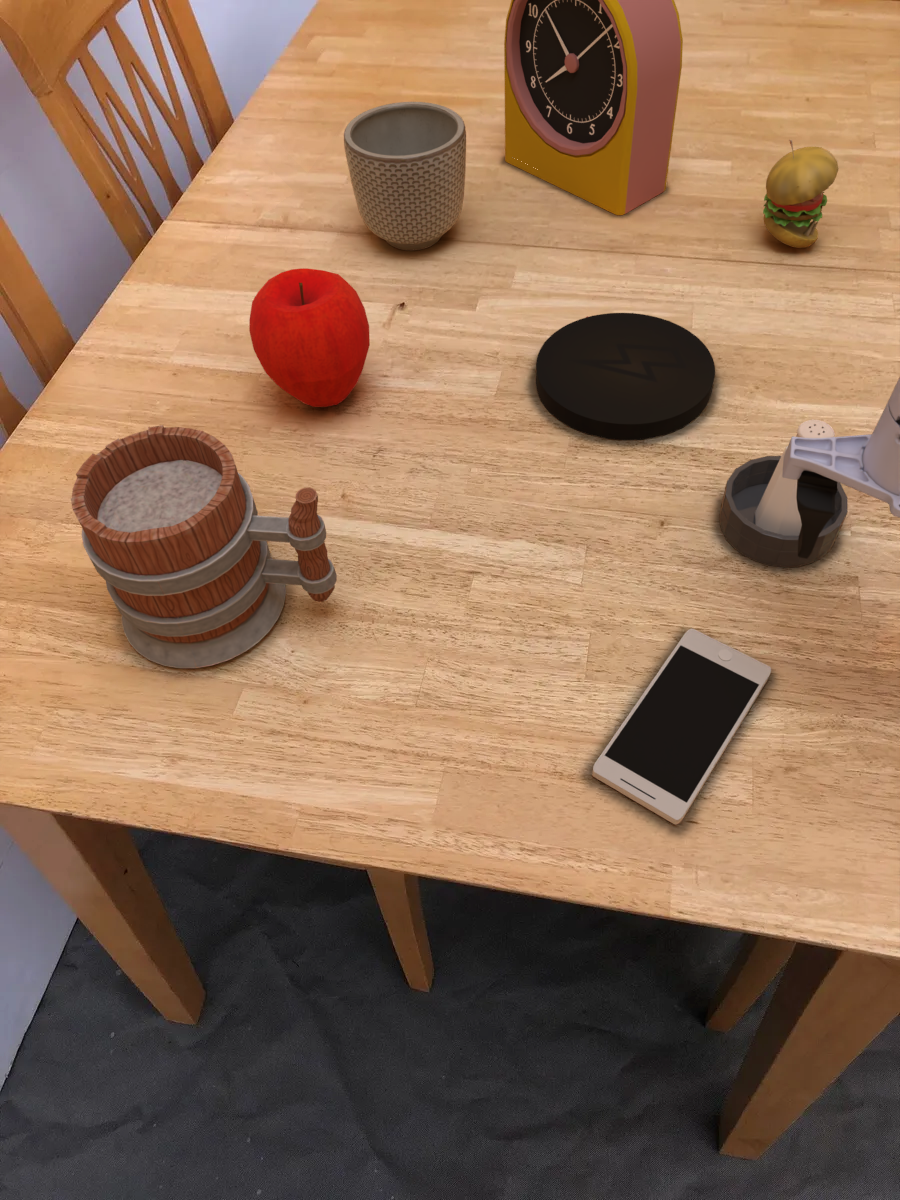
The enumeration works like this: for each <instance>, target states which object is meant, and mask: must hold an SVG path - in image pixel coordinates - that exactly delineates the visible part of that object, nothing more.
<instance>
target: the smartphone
mask: <svg viewBox="0 0 900 1200" xmlns="http://www.w3.org/2000/svg"><path fill="white" fill-rule="evenodd" d="M771 673H772V667H771V666H770V665H768V664H766V663H764V662H762V661H761V660H758V659H756V658H754V657H752V656H750V655H748V654H746V653H743V652H741V651H739V650H738V649H735V648H733V647H732V646H729V645H727V644H725V643H723V642H721V641H719V640H718V639H715V638H713V637H711V636H709V635H707V634H705V633H703V632H701V631H699V630H697V629H695V628H689V629H688V630H686V631H685V632H684V634H683V636H682V637H681V638H680V640H679V641H678V643H677V644H676V646H674V648H673V649H672V651H671V653H670V654H669V655H668V657H667V659H666V660H665V661H664V663H663V664H662V665H661V667H660V668H659V670H658V672H657V673H656V675H655V676H654V677H653V678H652V680H651V681H650V683H649V684H648V686H647V687H646V689H644V691H643V693H642V694H641V696H640V697H639V699H638V701H636V703H635V705H633V707H632V709H631V710H630V712H629V714H628V715H627V716H626V718H625V719H624V720H623V722H622V723H621V725H620V726H619V728H618V729H617V730H616V732H615V733H614V735H613V736H612V738H611V739H610V741H609V742H608V743H607V744H606V747H604V749H603V751H602V752H601V754H600V755H599V756H598V758H597V760H596V761H595V762H594V764H593V766H592V771H591V775H592V777H593V778H595V779H596V780H599V781H600V782H601V783H603V784H605V785H607V786H608V787H610V788H612V789H613V790H615V791H617V792H619V793H620V794H622V795H624V796H626V798H629V799H631V800H633V801H634V802H635V803H637V804H639V805H640V806H642V807H644V808H646V809H647V810H649V811H651V812H652V813H655V814H656V815H657V816H659V817H661V818H662V819H664V820H666V821H668V822H670V823H671V824H673V825H679V824H680V823H682V821H683V819H684V818H685V817H686V815H687V813H688V811H689V810H690V808H691V807H692V805H693V803H694V802H695V800H696V799H697V797H698V795H699V793H700V792H701V790H702V788H703V787H704V785H705V783H706V782H707V780H708V779H709V777H710V776H711V774H712V773H713V770H714V769H715V767H716V765H717V764H718V762H719V761H720V759H721V758H722V756H723V754H724V752H725V751H726V749H727V747H728V746H729V744H730V743H731V741H732V739H733V738H734V736H735V735H736V732H737V731H738V730H739V728H740V726H741V724H742V723H743V721H744V719H746V716H747V715H748V713H749V711H750V709H751V708H752V706H753V705H754V703H755V701H756V700H757V698H758V697H759V695H760V694H761V691H762V690H763V688H764V686H765V685H766V683H767V681H768V680H769V678H770V676H771Z"/></svg>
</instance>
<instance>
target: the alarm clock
mask: <svg viewBox="0 0 900 1200" xmlns="http://www.w3.org/2000/svg"><path fill="white" fill-rule="evenodd" d="M680 19H681V18H680V14H679V11H678V7H677V4H676V2H675V0H511V1H510V4H509V7H508V12H507V15H506V18H505V26H504V27H505V29H504V40H503V51H504V52H503V53H504V54H503V55H504V61H503V64H504V66H503V67H504V68H503V69H504V161H505V162H506V163H508V164H510V165H511V166H514V167H515V168H518V169H520V170H522V171H524V172H526V173H528V174H530V175H532V176H534V177H536V178H539V179H540V180H542V181H545V182H547V183H549V184H551V185H553V186H555V187H557V188H559V189H561V190H563V191H566V192H568V193H569V194H571V195H574V196H576V197H578V198H580V199H581V200H585V201H586V202H588V203H590V204H592V205H595V206H597V207H598V208H601V209H603V210H604V211H607V212H609V213H611V214H614V215H615V216H624V215H626V214H628V213H629V212H632V211H633V210H635V209H636V208H638V207H640V206H642V205H643V204H644V203H645V204H646V203H647V202H648V201H650V200H652V199H653V198H655V197H657V196H658V195H660V194H662V193H664V192H665V191H666V187H667V181H668V173H669V166H670V158H671V150H672V142H673V135H674V128H675V121H676V113H677V106H678V99H679V98H678V97H679V90H680V84H681V76H682V68H683V46H684V44H683V43H684V39H683V33H682V26H681V20H680ZM512 157H513V158H512ZM514 158H515V159H514ZM517 159H518V160H517ZM521 161H522V162H521ZM525 163H526V164H525ZM527 164H528V165H527ZM533 167H534V168H533ZM535 168H536V169H535ZM537 169H538V170H537Z"/></svg>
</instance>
